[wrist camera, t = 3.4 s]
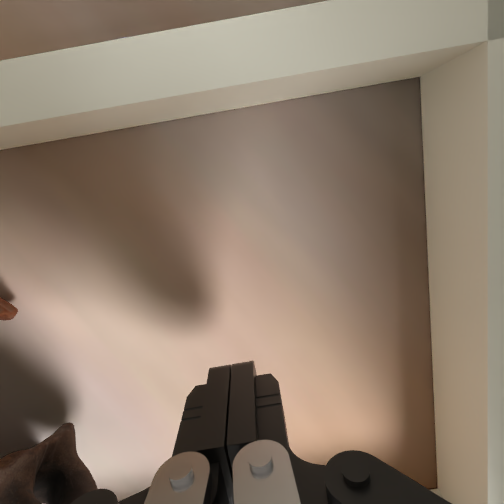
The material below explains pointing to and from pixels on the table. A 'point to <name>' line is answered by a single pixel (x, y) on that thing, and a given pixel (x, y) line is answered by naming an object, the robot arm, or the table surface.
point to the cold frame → (325, 81)
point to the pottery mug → (44, 464)
